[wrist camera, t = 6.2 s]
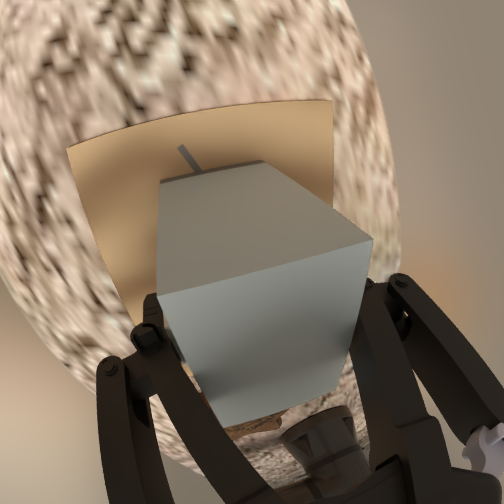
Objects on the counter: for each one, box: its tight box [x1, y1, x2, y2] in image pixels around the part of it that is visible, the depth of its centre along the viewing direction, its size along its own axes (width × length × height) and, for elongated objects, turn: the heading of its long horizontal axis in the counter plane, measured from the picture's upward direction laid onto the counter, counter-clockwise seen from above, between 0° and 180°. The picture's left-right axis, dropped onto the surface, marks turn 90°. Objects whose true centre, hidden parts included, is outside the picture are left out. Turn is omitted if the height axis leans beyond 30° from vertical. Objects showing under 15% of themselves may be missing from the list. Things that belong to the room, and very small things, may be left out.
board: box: [67, 100, 334, 377], centre depth 19 cm, size 22×16×1 cm
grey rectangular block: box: [156, 160, 373, 428], centre depth 13 cm, size 9×6×10 cm, turn 5°
